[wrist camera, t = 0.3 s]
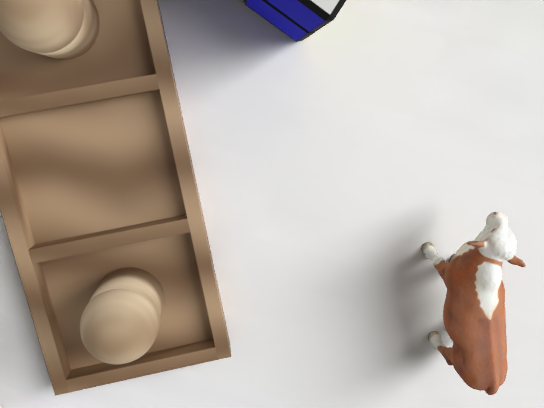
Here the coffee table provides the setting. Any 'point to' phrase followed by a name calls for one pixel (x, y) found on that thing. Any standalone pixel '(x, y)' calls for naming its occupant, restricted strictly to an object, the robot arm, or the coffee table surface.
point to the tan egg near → (51, 26)
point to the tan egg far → (122, 316)
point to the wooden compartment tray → (105, 194)
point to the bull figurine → (477, 304)
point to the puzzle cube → (297, 14)
